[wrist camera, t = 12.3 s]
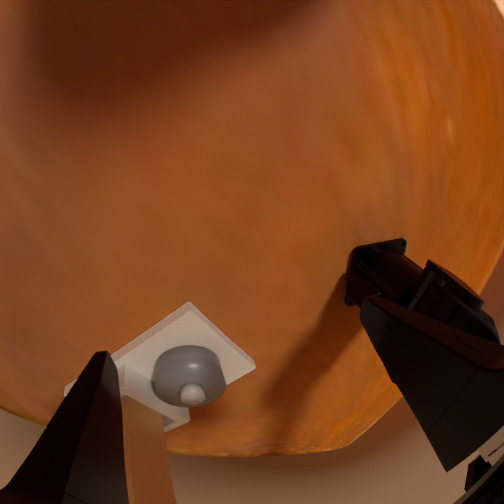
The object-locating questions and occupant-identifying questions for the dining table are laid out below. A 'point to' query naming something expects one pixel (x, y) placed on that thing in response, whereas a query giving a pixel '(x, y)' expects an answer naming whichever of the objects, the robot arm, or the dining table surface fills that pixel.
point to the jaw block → (145, 455)
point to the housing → (178, 365)
